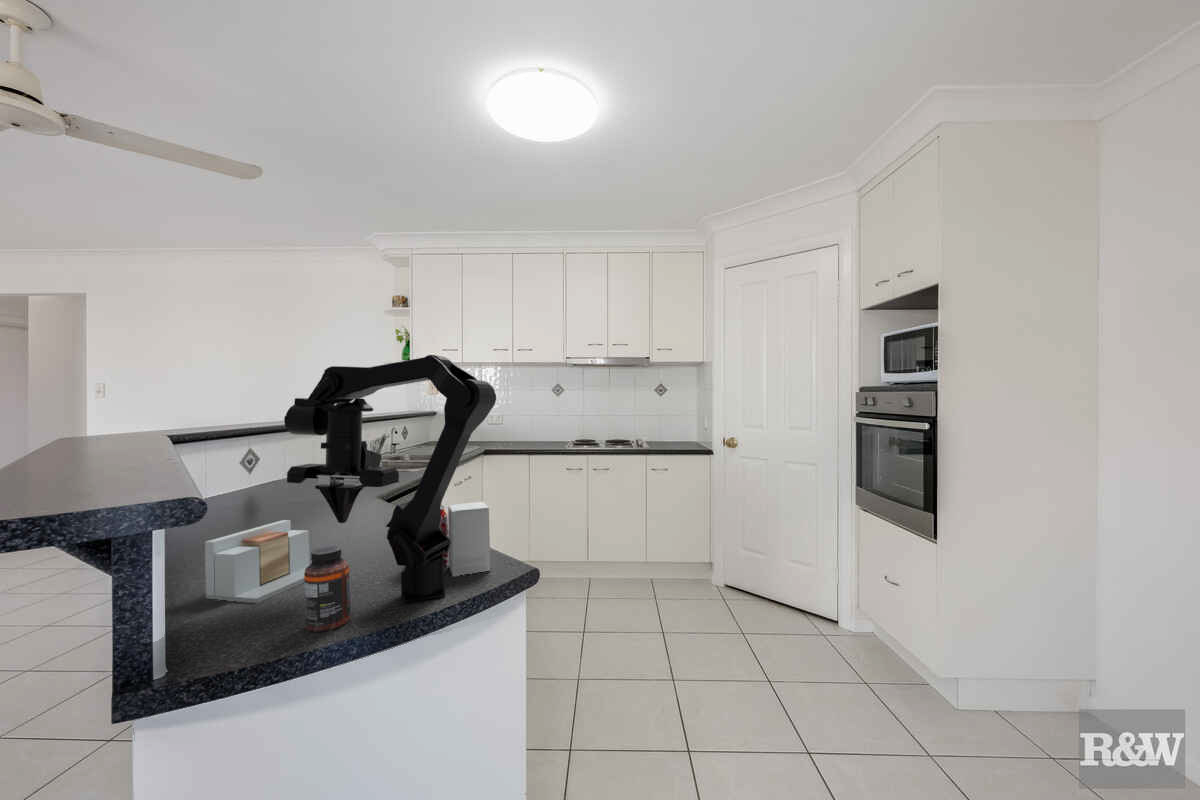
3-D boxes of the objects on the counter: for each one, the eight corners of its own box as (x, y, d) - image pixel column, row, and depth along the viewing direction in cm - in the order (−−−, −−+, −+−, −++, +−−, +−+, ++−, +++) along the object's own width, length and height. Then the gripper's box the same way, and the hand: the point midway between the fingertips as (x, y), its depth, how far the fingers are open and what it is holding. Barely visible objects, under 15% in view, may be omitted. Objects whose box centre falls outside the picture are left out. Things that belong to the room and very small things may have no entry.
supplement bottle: (340, 612, 77) (339, 541, 78) (357, 622, 74) (356, 547, 74) (298, 626, 73) (297, 550, 73) (314, 637, 69) (313, 557, 69)
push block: (288, 573, 94) (288, 532, 94) (260, 584, 88) (260, 540, 88) (271, 572, 95) (270, 531, 95) (242, 583, 89) (242, 539, 89)
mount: (328, 571, 98) (327, 521, 98) (256, 603, 82) (256, 543, 82) (283, 568, 100) (283, 520, 100) (205, 599, 84) (205, 541, 84)
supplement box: (491, 572, 95) (489, 507, 95) (451, 577, 92) (450, 511, 92) (485, 561, 102) (484, 500, 102) (448, 566, 99) (447, 504, 99)
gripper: (415, 435, 94) (414, 515, 94) (329, 432, 97) (328, 510, 97) (381, 439, 83) (379, 530, 83) (285, 436, 86) (283, 523, 86)
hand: (342, 522), depth 88 cm, fingers closed
